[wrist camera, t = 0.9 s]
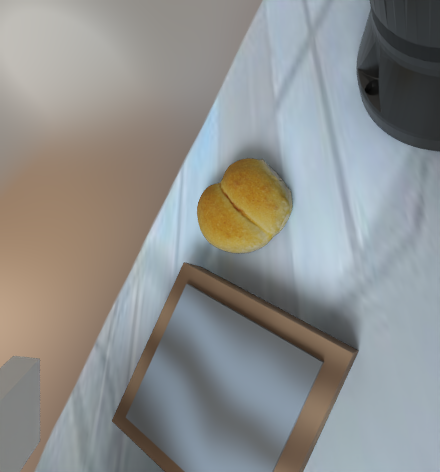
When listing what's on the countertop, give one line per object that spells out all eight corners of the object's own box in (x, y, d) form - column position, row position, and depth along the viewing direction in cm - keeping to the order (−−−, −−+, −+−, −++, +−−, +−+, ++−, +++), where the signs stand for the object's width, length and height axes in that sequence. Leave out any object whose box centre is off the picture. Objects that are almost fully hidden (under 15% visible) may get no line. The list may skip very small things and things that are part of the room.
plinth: (200, 266, 37) (180, 261, 33) (358, 350, 29) (351, 354, 26) (133, 413, 37) (107, 422, 34) (272, 538, 29) (255, 564, 26)
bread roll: (193, 212, 39) (171, 201, 35) (259, 152, 36) (242, 134, 33) (235, 275, 35) (215, 269, 31) (310, 212, 33) (298, 199, 29)
